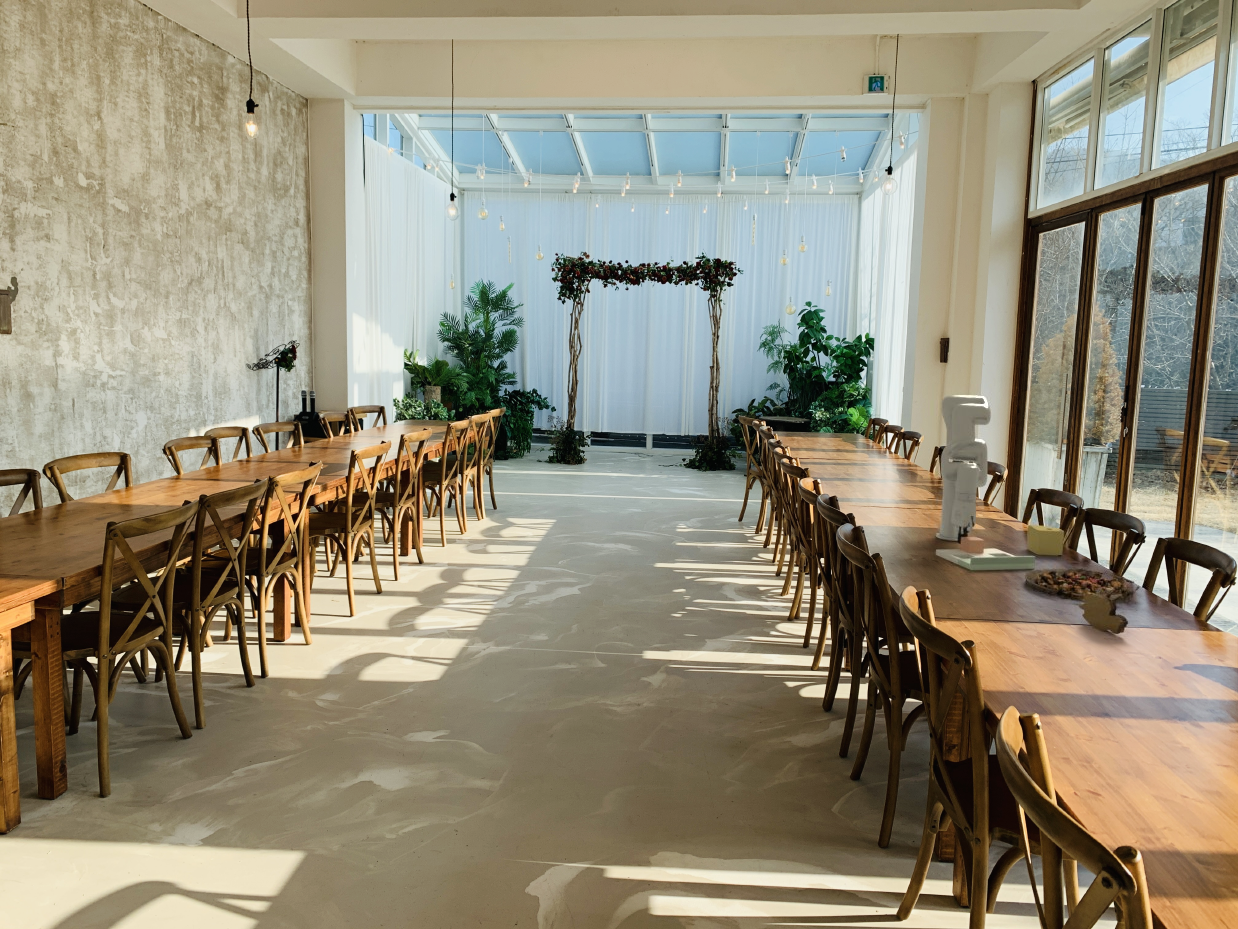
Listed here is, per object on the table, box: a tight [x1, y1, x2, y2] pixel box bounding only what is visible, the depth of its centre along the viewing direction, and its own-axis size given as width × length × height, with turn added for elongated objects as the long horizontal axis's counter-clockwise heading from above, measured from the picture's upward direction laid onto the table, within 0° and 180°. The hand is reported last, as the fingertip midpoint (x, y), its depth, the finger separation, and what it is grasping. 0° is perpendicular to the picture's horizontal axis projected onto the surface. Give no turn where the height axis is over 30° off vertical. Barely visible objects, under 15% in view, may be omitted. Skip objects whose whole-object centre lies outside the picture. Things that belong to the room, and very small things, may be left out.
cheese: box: [1026, 524, 1065, 556], centre depth 346 cm, size 10×11×10 cm
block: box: [959, 536, 985, 553], centre depth 336 cm, size 6×6×5 cm
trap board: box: [935, 548, 1036, 571], centre depth 329 cm, size 24×25×4 cm
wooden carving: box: [1078, 594, 1129, 635], centre depth 249 cm, size 16×5×10 cm, turn 17°
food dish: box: [1024, 567, 1140, 605], centre depth 291 cm, size 35×33×8 cm
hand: (962, 543), depth 343 cm, fingers closed
